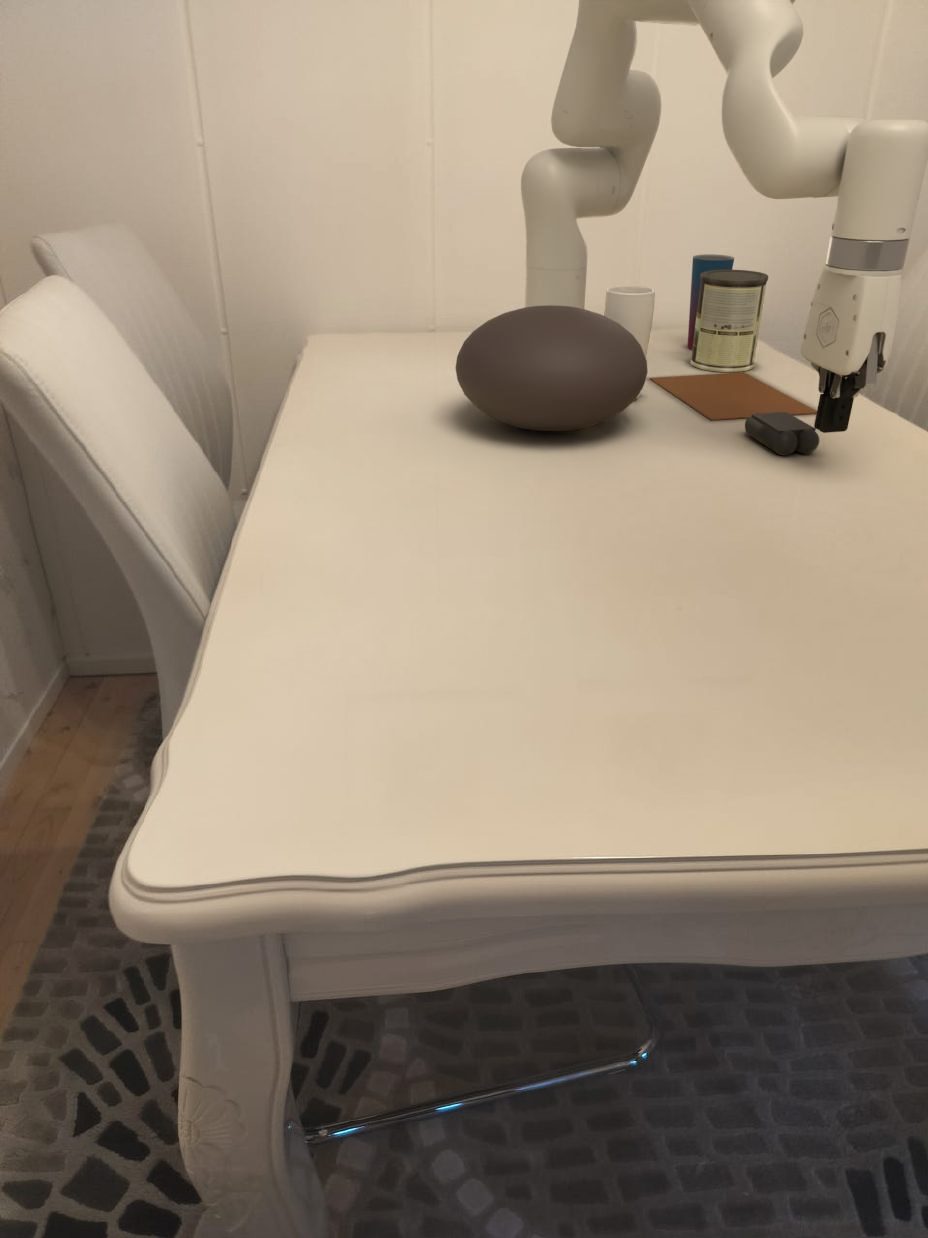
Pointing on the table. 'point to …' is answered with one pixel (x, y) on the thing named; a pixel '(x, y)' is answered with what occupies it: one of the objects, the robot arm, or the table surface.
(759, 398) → the mouse pad
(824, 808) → the table surface
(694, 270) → the cup
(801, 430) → the mouse
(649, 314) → the drinking glass
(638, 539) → the table surface
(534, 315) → the flattened ellipsoid
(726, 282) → the coffee can
